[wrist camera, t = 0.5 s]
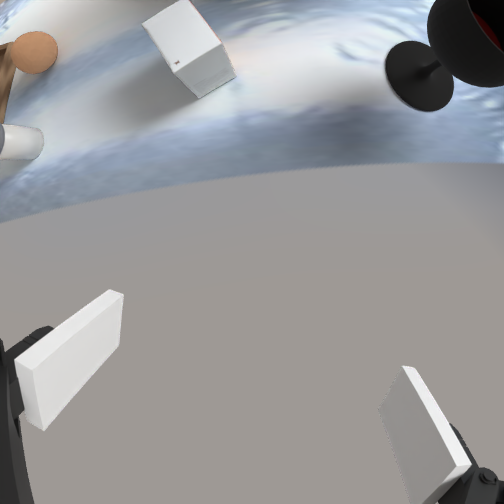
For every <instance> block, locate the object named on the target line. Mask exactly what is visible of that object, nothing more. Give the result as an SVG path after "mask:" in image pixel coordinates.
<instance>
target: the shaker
mask: <svg viewBox="0 0 504 504" xmlns="http://www.w3.org/2000/svg"><path fill="white" fill-rule="evenodd" d="M43 145H44V137H43V134H42V132H41V130H39V129H37V128H31V127H23V126H16V125H7V124H1V123H0V160H33V159H35V158H37V157H38V156H39V155H40V153H41V151H42V149H43Z"/></svg>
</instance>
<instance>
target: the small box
mask: <svg viewBox="0 0 504 504" xmlns="http://www.w3.org/2000/svg"><path fill="white" fill-rule="evenodd" d="M141 25H142V27H143V28H144V29H145V30H146V32H147V33H148V35H149V36H150V37H151V39H152V40H153V42H154V44H155V45H156V47H157V48H158V50H159V51H160V53H161V54H162V56H163V57H164V59H165V60H166V62H167V64H168V66H169V67H170V69H171V71H172V73H173V74H174V75H175V76H176V77H177V78H178V79H179V80H181V82H182V83H183V84H184V85H185V86H186V87H187V88H189V89H190V90H191V91H192V92H193V93H194V94H195V95H196V96H197V97H198V98H201V97H203V96H204V95H206V94H207V93H209V92H211V91H212V90H214V89H216V88H217V87H219V86H221V85H222V84H224V83H226V82H228V81H229V80H231V79H233V78H234V77H236V76H237V75H236V73H235V70H234V68H233V66H232V64H231V61H230V59H229V57H228V55H227V52H226V50H225V48H224V46H223V43H222V42H221V40H220V39H219V38H218V36H217V35H216V34H215V32H214V31H213V30H212V28H211V27H210V26H209V24H208V23H207V22H206V21H205V19H204V18H203V17H202V15H201V14H200V13H199V12H198V10H197V9H196V8H195V7H194V5H193V4H192V3H191V2H190V0H179V1H177V2H175V3H174V4H172V5H170V6H169V7H167V8H165V9H164V10H162V11H160V12H159V13H157V14H156V15H154V16H153V17H151V18H149V19H148V20H146V21H145V22H143V23H142V24H141Z"/></svg>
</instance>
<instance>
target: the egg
mask: <svg viewBox="0 0 504 504" xmlns="http://www.w3.org/2000/svg"><path fill="white" fill-rule="evenodd" d="M57 53H58V48H57V44H56V41H55V40H54V39H53V38H52V37H51V36H50V35H48V34H46V33H44V32H37V31H35V32H28V33H25V34H23V35H21V36H20V37H18V38H17V39H16V40H15V42H14V43H13V45H12V48H11V58H12V61H13V63H14V64H15V66H16V67H17V68H18V69H19V70H21V71H23V72H26V73H29V74H37V73H41V72H43V71H45V70H47V69H48V68H49V67H51V66H52V64H53V63H54V62H55V60H56V58H57Z"/></svg>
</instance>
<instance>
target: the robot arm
mask: <svg viewBox="0 0 504 504" xmlns="http://www.w3.org/2000/svg"><path fill="white" fill-rule="evenodd" d="M123 296H124V295H123V294H121V293H118V292H115V291H112V290H110V289H109V290H108V291H106V292H105V293H103V294H102V295H100V296H99V297H98V298H96V299H95V300H93V301H92V302H91V303H89V304H88V305H86V306H85V307H84V308H82V309H81V310H80V311H78V312H77V313H76V314H74V315H73V316H71V317H70V318H69V319H67V320H66V321H64V322H63V323H62V324H60V325H59V326H58V327H56V328H55V329H54V328H52V327H50V326H46V327H42V328H39V329H37V330H35V331H34V332H32V333H31V334H30V335H29V336H27V337H25V338H24V339H23V340H22V341H20V342H19V343H17V344H16V345H14V346H13V347H12V348H10V349H9V350H7V351H6V352H4V346H3V341H2V340H1V339H0V504H34V500H33V496H32V492H31V488H30V483H29V478H28V473H27V468H26V462H25V456H24V450H23V443H22V435H21V427H20V420H19V415H20V414H21V413H22V411H25V415H26V418H27V421H28V422H30V423H31V424H33V425H35V426H36V427H38V428H40V429H41V430H43V431H45V429H46V428H47V427H48V426H49V425H50V423H51V422H52V421H53V420H54V419H55V418H56V416H57V415H58V414H59V413H60V412H61V411H62V409H63V408H64V407H65V406H66V405H67V403H68V402H69V401H70V400H71V399H72V398H73V397H74V395H75V394H76V393H77V392H78V391H79V390H80V389H81V387H82V386H83V385H84V384H85V383H86V382H87V381H88V380H89V378H90V377H91V376H92V375H93V374H94V373H95V372H96V370H97V369H98V368H99V367H100V366H101V365H102V364H103V363H104V362H105V360H106V359H107V358H108V357H109V356H110V355H111V354H112V352H113V351H114V350H115V349H116V348H117V347H118V346H119V339H120V327H121V316H122V305H123ZM378 411H379V414H380V417H381V419H382V422H383V425H384V427H385V431H386V433H387V436H388V439H389V442H390V445H391V447H392V450H393V453H394V456H395V459H396V462H397V465H398V468H399V471H400V474H401V477H402V480H403V483H404V486H405V489H406V492H407V495H408V498H409V502H410V504H435V503H436V502H438V503H439V504H504V481H500V480H498V478H497V476H496V474H495V473H494V472H493V471H491V470H490V469H487V468H479V467H478V465H477V463H476V461H475V459H474V458H473V456H472V454H471V452H470V451H469V449H468V447H466V444H465V442H464V440H462V439H463V438H462V437H461V435H460V433H459V432H458V430H457V429H456V428H455V427H453V426H452V424H450V423H448V421H447V420H446V418H445V416H444V414H443V413H442V411H441V409H440V408H439V406H438V405H437V403H436V401H435V400H434V398H433V396H432V395H431V393H430V392H429V390H428V388H427V387H426V385H425V383H424V382H423V380H422V379H421V377H420V376H419V374H418V372H417V371H416V369H415V368H413V367H407V366H402V367H401V368H400V370H399V372H398V374H397V376H396V378H395V380H394V382H393V384H392V385H391V387H390V389H389V391H388V393H387V394H386V396H385V398H384V400H383V402H382V403H381V405H380V407H379V408H378Z"/></svg>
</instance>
